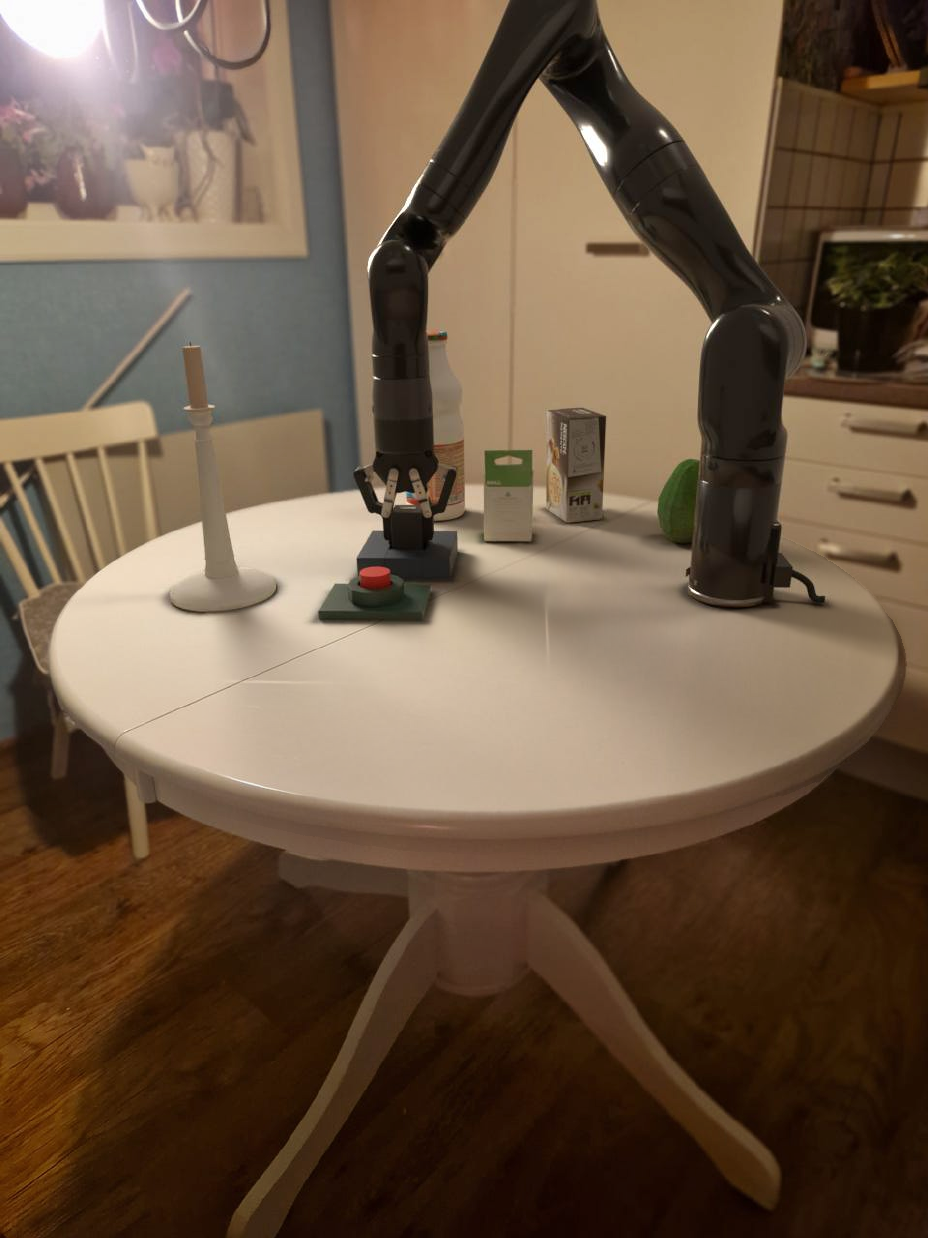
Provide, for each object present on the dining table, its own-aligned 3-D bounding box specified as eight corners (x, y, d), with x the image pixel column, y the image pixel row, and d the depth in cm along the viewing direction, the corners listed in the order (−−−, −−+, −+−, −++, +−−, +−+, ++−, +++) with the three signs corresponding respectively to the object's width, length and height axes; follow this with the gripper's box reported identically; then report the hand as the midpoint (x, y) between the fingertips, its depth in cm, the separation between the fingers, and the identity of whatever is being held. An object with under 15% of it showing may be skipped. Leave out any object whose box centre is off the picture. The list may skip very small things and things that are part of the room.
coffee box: (604, 519, 135) (608, 415, 129) (566, 523, 133) (569, 418, 127) (579, 505, 143) (582, 406, 137) (543, 508, 141) (545, 409, 135)
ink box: (532, 534, 128) (533, 444, 123) (531, 542, 125) (533, 450, 119) (485, 534, 129) (485, 444, 124) (483, 542, 125) (482, 450, 120)
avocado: (722, 545, 122) (731, 460, 118) (678, 553, 119) (685, 467, 114) (686, 530, 129) (693, 450, 124) (643, 538, 126) (648, 456, 121)
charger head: (426, 547, 118) (424, 503, 115) (422, 556, 114) (421, 512, 112) (397, 547, 118) (395, 503, 116) (392, 556, 114) (390, 512, 112)
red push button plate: (430, 593, 107) (430, 570, 106) (422, 621, 98) (421, 597, 97) (335, 592, 108) (333, 569, 106) (318, 620, 99) (316, 596, 98)
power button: (393, 580, 104) (392, 566, 103) (388, 591, 100) (387, 576, 100) (363, 580, 104) (362, 566, 103) (357, 590, 100) (356, 576, 100)
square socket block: (457, 551, 122) (457, 530, 121) (450, 580, 111) (449, 558, 110) (373, 550, 123) (372, 530, 121) (357, 579, 112) (356, 557, 110)
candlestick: (223, 619, 100) (186, 349, 88) (148, 599, 106) (104, 345, 95) (297, 585, 110) (272, 338, 98) (225, 569, 116) (194, 335, 105)
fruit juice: (464, 521, 135) (461, 334, 124) (404, 522, 135) (396, 334, 125) (466, 505, 144) (463, 328, 133) (409, 506, 144) (402, 329, 133)
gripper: (461, 407, 112) (464, 534, 118) (353, 408, 113) (361, 534, 119) (457, 417, 105) (460, 552, 111) (341, 418, 106) (351, 551, 112)
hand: (409, 542), depth 115 cm, fingers closed on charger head, 4 cm apart
